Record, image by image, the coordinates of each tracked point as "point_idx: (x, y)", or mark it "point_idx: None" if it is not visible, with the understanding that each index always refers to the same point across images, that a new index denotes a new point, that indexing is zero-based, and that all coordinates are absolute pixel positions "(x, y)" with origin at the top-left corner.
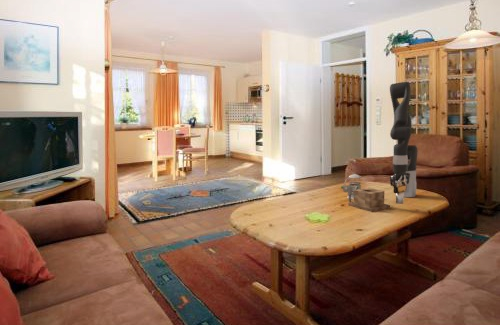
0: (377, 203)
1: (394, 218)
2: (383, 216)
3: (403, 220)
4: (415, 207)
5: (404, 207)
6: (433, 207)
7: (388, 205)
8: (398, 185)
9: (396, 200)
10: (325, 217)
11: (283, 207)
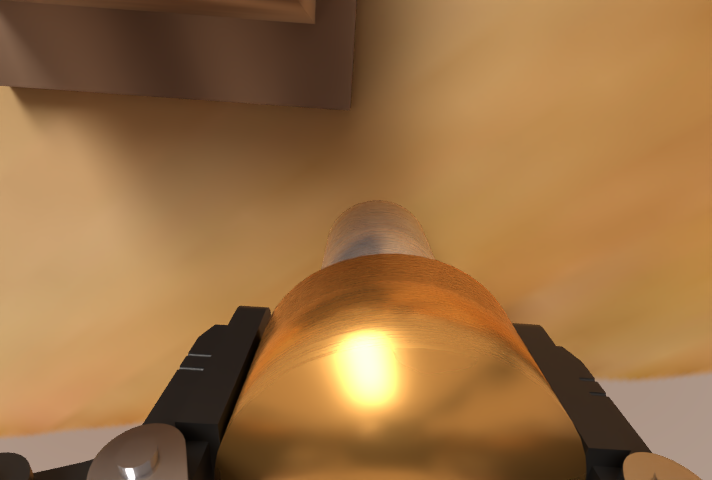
0: (143, 5)
1: (85, 357)
2: (30, 271)
3: (113, 418)
4: (567, 274)
5: (489, 204)
6: (672, 368)
7: (320, 101)
8: (384, 465)
9: (326, 249)
10: None
11: None
